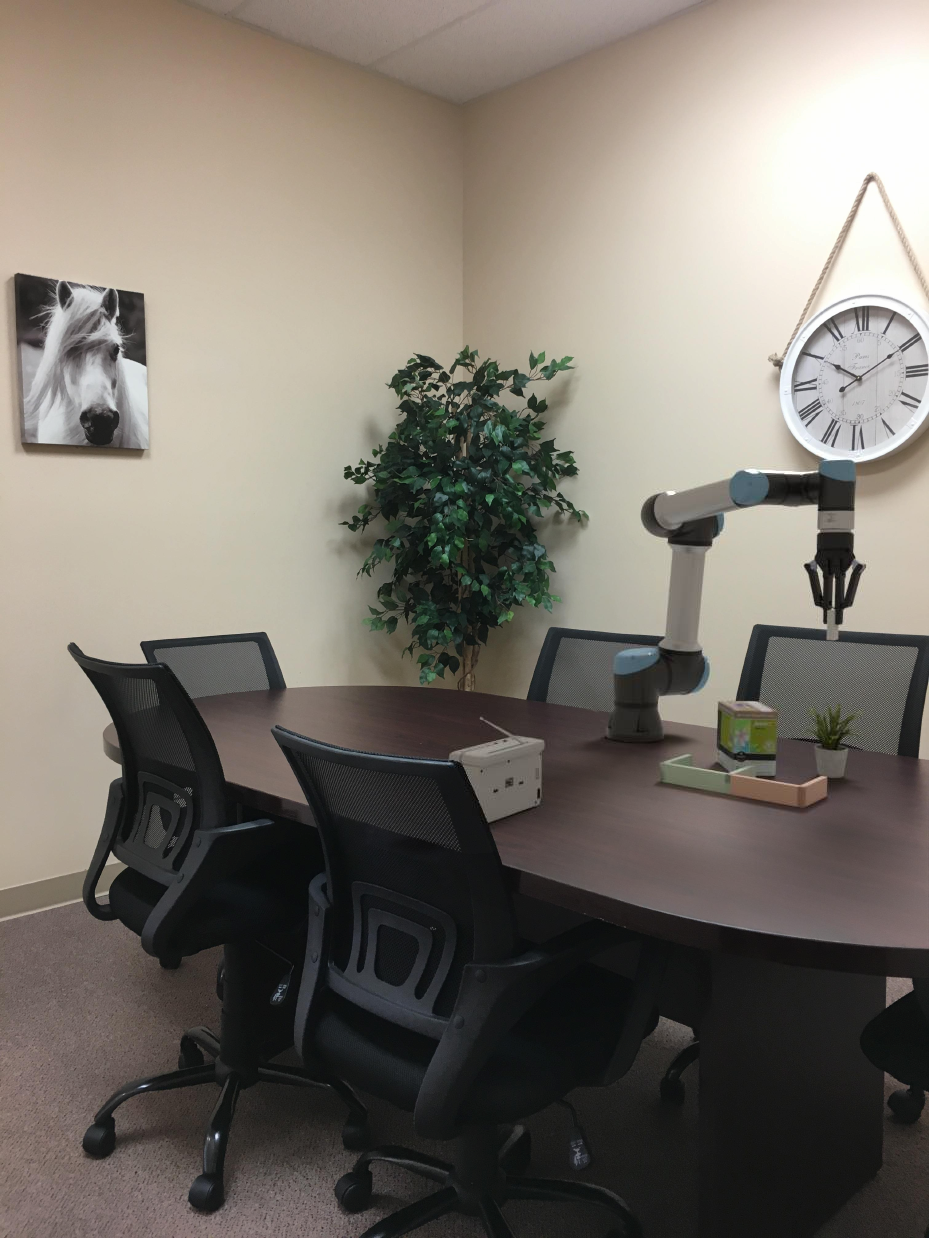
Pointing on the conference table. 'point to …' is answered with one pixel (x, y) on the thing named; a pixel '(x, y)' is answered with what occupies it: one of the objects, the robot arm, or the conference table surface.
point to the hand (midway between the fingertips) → (832, 639)
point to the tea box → (747, 736)
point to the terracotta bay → (779, 790)
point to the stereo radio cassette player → (504, 773)
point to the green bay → (699, 775)
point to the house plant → (831, 743)
